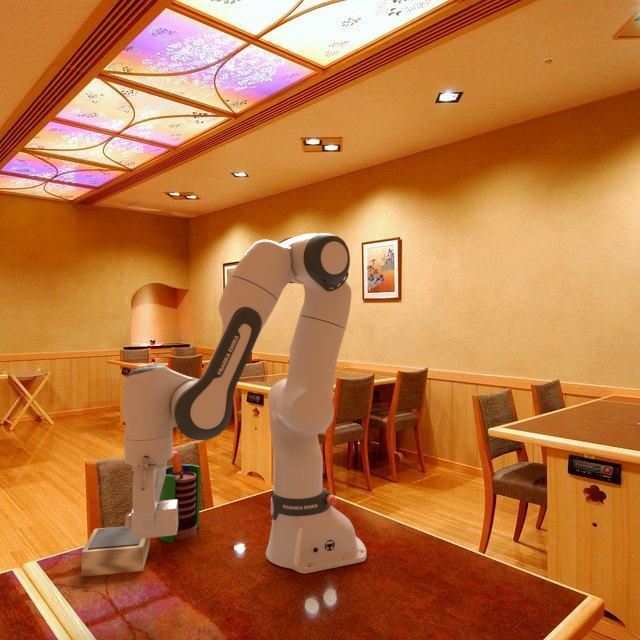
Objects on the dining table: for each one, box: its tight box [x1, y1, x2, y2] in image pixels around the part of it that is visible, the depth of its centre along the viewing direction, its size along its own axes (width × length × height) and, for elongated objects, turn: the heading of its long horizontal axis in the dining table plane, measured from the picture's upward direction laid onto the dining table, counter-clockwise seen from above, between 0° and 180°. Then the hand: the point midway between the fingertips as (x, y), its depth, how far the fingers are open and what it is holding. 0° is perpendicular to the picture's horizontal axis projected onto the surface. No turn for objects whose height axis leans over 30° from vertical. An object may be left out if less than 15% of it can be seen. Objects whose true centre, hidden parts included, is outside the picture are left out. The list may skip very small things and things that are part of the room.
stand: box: [80, 525, 151, 578], centre depth 111 cm, size 12×12×5 cm
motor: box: [158, 450, 201, 543], centre depth 125 cm, size 10×9×20 cm
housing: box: [124, 499, 178, 540], centre depth 97 cm, size 9×5×5 cm, turn 102°
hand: (151, 521), depth 97 cm, fingers closed on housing, 5 cm apart
